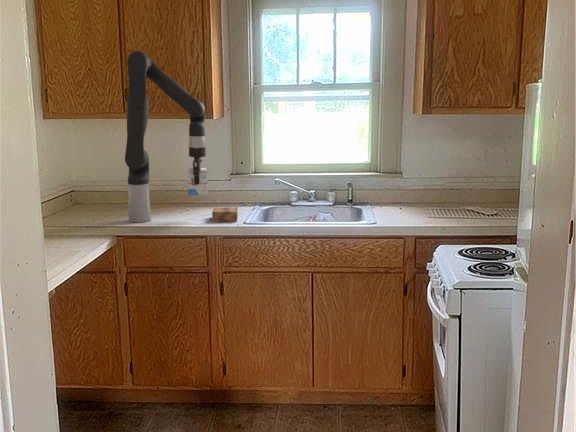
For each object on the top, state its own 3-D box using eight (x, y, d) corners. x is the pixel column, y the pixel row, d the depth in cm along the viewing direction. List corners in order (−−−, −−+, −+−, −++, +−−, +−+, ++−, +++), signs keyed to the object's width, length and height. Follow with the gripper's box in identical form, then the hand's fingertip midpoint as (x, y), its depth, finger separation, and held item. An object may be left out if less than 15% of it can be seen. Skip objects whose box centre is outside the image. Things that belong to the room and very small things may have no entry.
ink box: (189, 195, 262) (188, 169, 260) (187, 193, 267) (187, 167, 265) (207, 194, 264) (207, 168, 262) (206, 193, 269) (206, 167, 267)
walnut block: (212, 222, 263) (212, 212, 262) (214, 218, 274) (214, 207, 273) (236, 222, 264) (236, 211, 263) (237, 217, 274) (237, 207, 273)
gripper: (190, 144, 268) (191, 180, 272) (186, 147, 254) (187, 185, 257) (206, 145, 269) (207, 181, 272) (203, 147, 254) (204, 185, 258)
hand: (197, 183), depth 265 cm, fingers closed on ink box, 5 cm apart
